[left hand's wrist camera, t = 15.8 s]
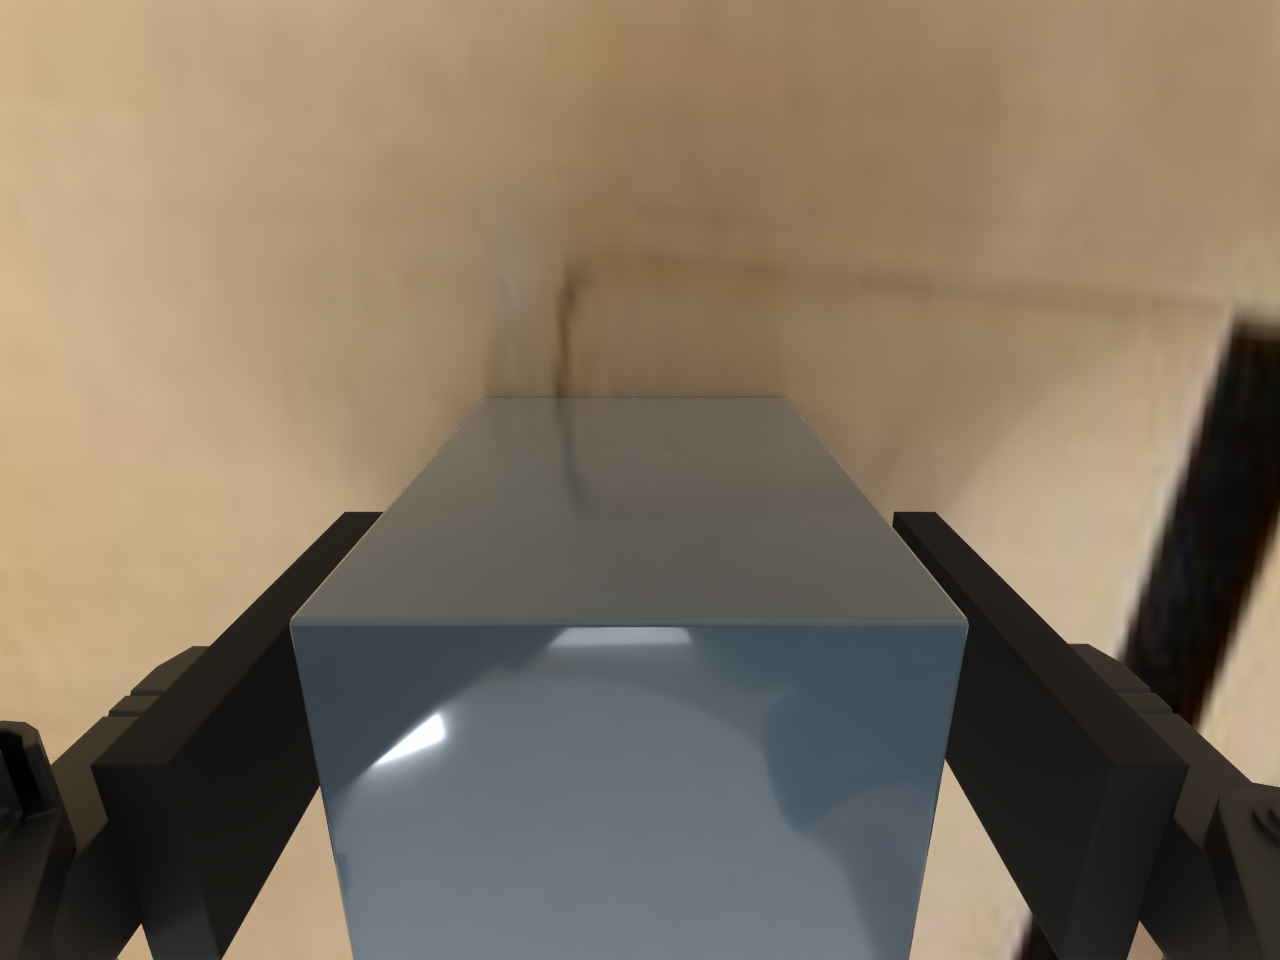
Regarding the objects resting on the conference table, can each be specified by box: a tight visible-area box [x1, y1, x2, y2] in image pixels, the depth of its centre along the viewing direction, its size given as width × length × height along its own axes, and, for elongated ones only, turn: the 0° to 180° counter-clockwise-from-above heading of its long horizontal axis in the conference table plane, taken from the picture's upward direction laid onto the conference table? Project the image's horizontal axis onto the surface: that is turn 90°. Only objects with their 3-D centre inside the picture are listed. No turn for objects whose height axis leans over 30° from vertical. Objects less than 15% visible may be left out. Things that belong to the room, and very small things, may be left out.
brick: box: [290, 397, 969, 960], centre depth 11 cm, size 6×6×8 cm
